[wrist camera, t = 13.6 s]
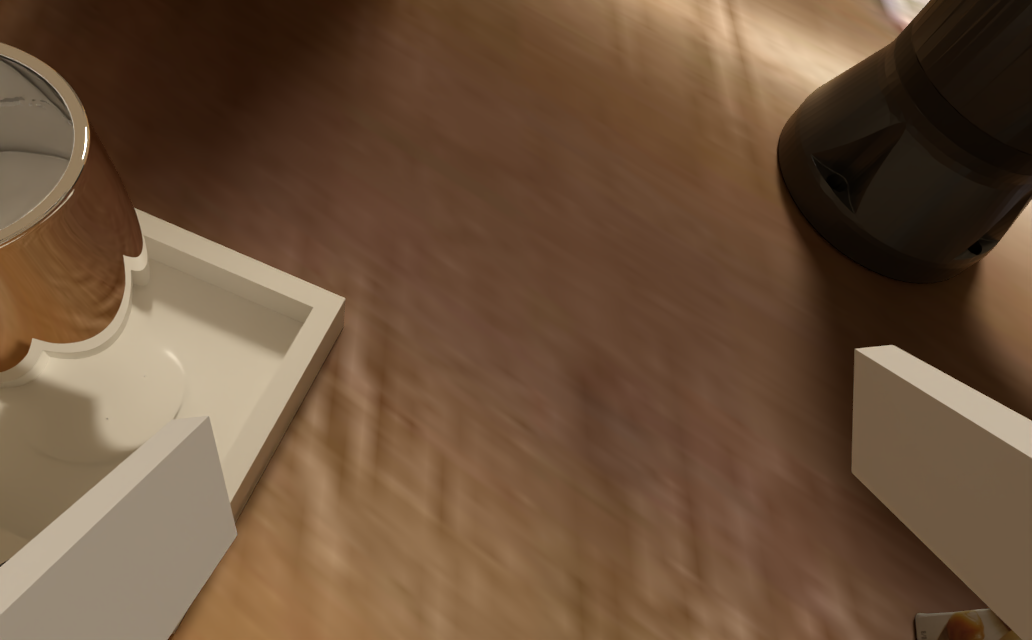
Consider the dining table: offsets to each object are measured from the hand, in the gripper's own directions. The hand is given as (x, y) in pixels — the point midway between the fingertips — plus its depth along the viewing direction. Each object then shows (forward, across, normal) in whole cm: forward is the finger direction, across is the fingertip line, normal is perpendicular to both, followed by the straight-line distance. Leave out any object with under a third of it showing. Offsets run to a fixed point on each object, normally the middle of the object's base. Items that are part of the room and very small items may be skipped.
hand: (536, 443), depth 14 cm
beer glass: (+14, -17, -2) cm, 22 cm away
